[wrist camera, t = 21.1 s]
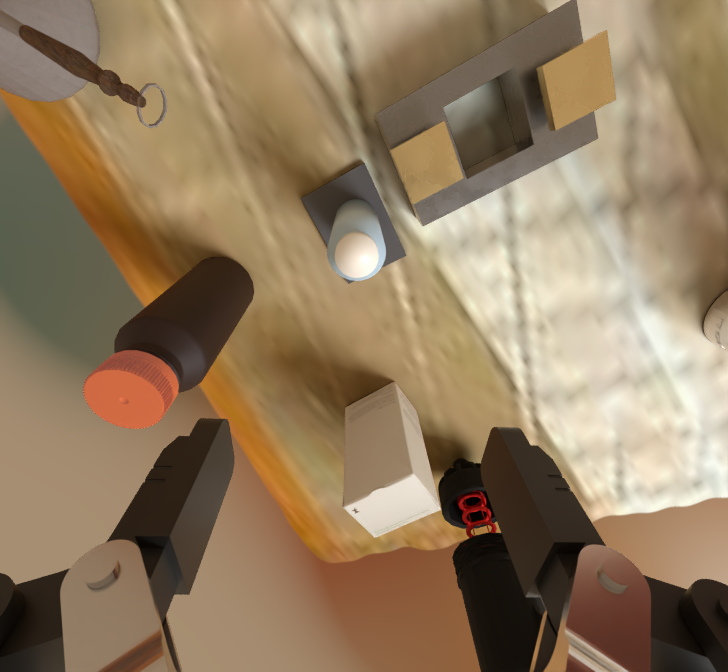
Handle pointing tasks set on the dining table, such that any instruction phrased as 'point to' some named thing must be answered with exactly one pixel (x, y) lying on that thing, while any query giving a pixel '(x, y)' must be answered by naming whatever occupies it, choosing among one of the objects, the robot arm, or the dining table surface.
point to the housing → (523, 104)
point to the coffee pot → (57, 53)
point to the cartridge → (356, 241)
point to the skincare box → (386, 463)
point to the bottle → (170, 344)
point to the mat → (343, 189)
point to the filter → (489, 577)
